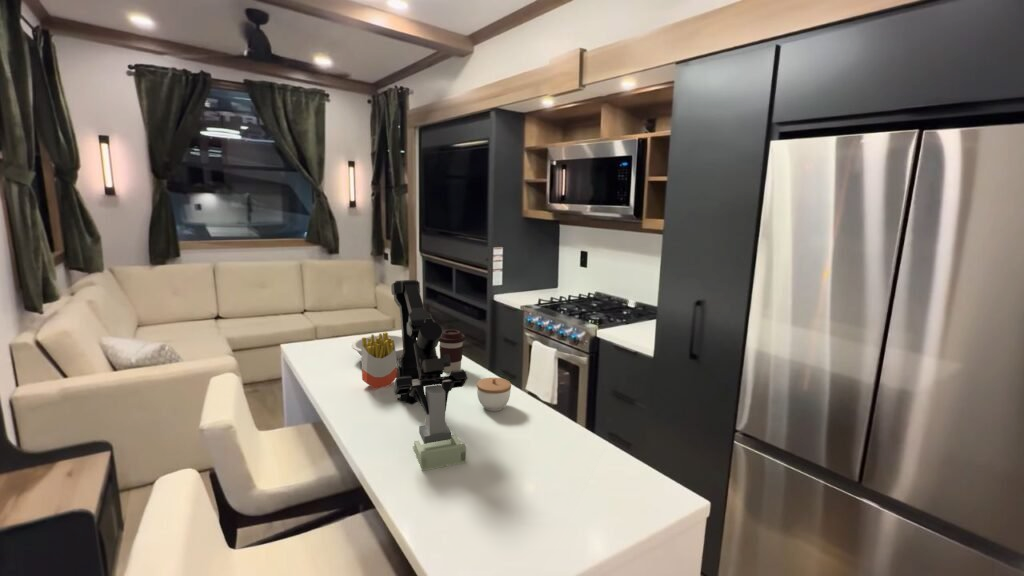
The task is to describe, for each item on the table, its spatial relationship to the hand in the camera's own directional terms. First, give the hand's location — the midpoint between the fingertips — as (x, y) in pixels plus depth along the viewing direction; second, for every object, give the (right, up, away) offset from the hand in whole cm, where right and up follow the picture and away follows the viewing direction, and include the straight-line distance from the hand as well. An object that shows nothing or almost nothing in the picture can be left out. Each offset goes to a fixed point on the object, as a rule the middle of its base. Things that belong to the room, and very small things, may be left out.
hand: (436, 413), depth 120 cm
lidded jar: (+13, -6, +29) cm, 32 cm away
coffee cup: (-4, +1, +59) cm, 60 cm away
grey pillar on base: (-1, -7, +3) cm, 7 cm away
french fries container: (-26, -2, +42) cm, 50 cm away
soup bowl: (-32, +3, +69) cm, 76 cm away
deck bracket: (+1, -11, -1) cm, 11 cm away
